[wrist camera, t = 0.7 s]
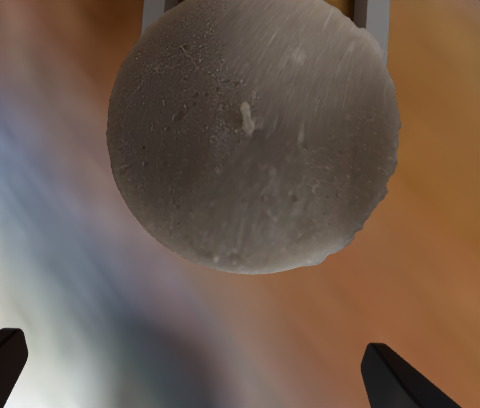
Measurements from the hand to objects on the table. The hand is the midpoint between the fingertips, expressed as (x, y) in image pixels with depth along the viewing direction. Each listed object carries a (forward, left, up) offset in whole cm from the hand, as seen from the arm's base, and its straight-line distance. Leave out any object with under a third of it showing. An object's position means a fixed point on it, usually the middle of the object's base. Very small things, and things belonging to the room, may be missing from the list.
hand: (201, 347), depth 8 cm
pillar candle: (+6, -1, -15) cm, 17 cm away
